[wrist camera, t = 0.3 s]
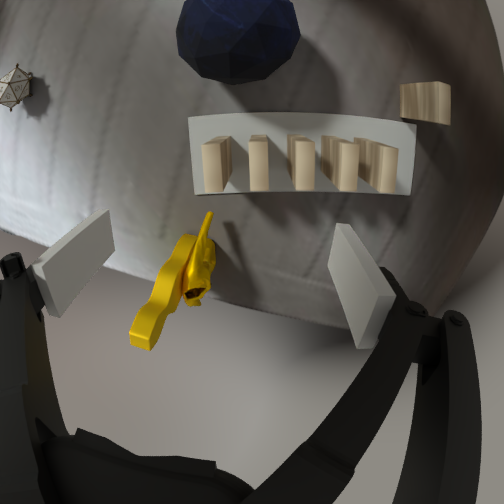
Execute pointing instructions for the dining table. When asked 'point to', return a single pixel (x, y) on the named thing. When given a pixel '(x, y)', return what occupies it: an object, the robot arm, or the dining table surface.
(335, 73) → the dining table surface
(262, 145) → the tile
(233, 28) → the decorative orb
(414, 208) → the dining table surface
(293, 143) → the tile
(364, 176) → the tile
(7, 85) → the game die
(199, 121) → the runner mat
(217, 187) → the tile
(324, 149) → the tile
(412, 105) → the tile
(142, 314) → the figure statuette
